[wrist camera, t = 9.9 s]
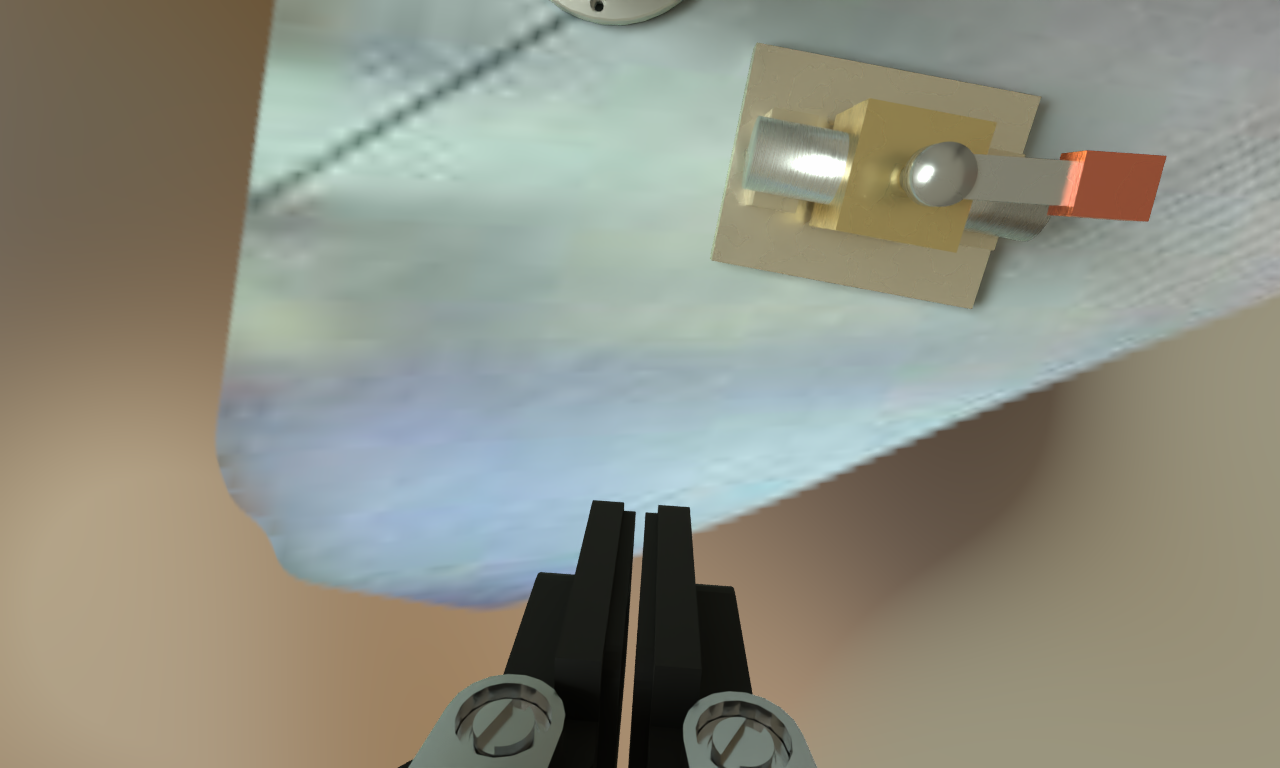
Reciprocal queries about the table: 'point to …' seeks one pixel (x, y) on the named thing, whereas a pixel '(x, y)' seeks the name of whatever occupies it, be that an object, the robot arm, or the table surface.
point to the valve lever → (1037, 181)
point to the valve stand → (865, 176)
